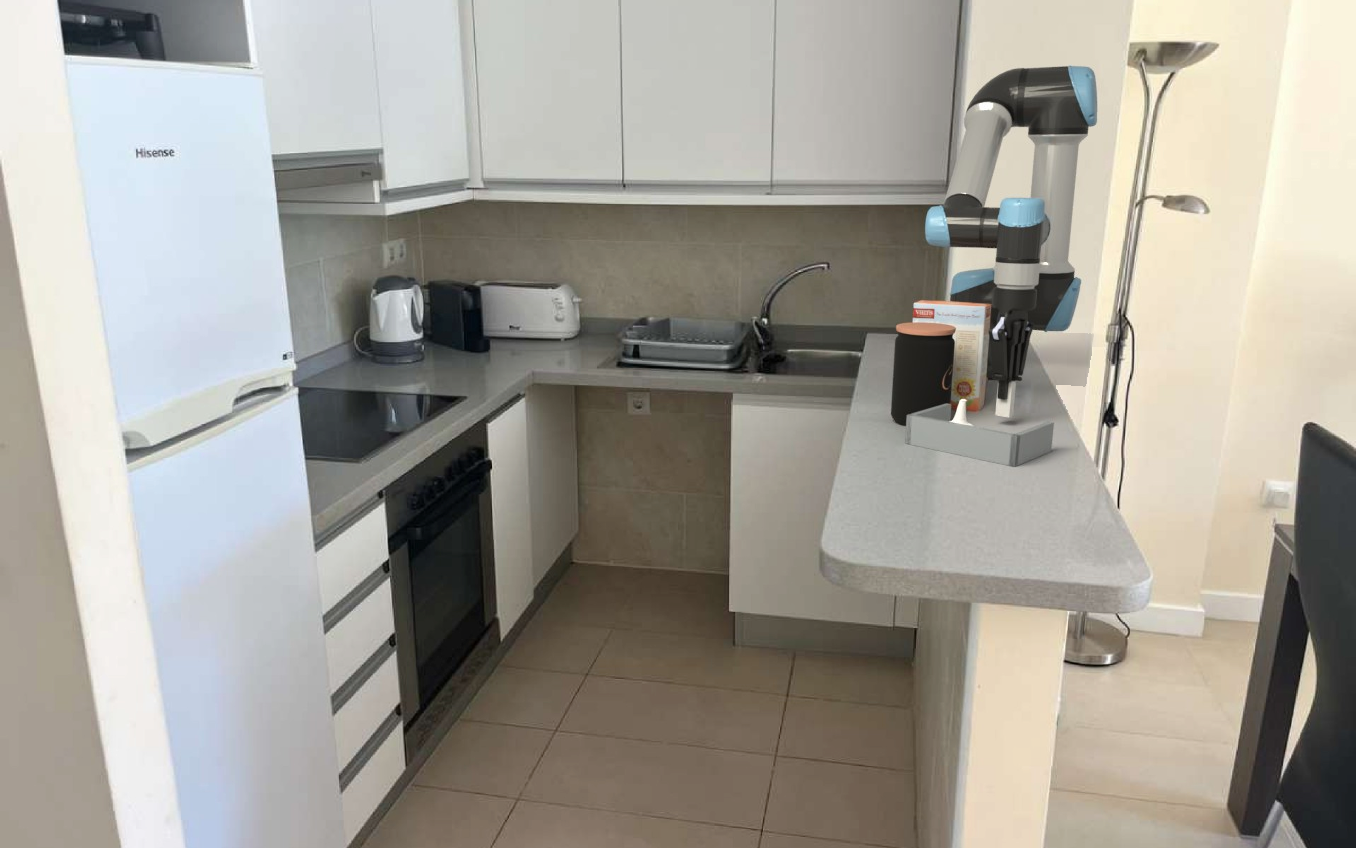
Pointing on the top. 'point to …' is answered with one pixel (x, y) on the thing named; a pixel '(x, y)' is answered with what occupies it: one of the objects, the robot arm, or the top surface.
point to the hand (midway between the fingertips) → (1004, 415)
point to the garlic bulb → (961, 413)
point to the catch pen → (976, 438)
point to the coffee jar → (921, 368)
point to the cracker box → (963, 345)
